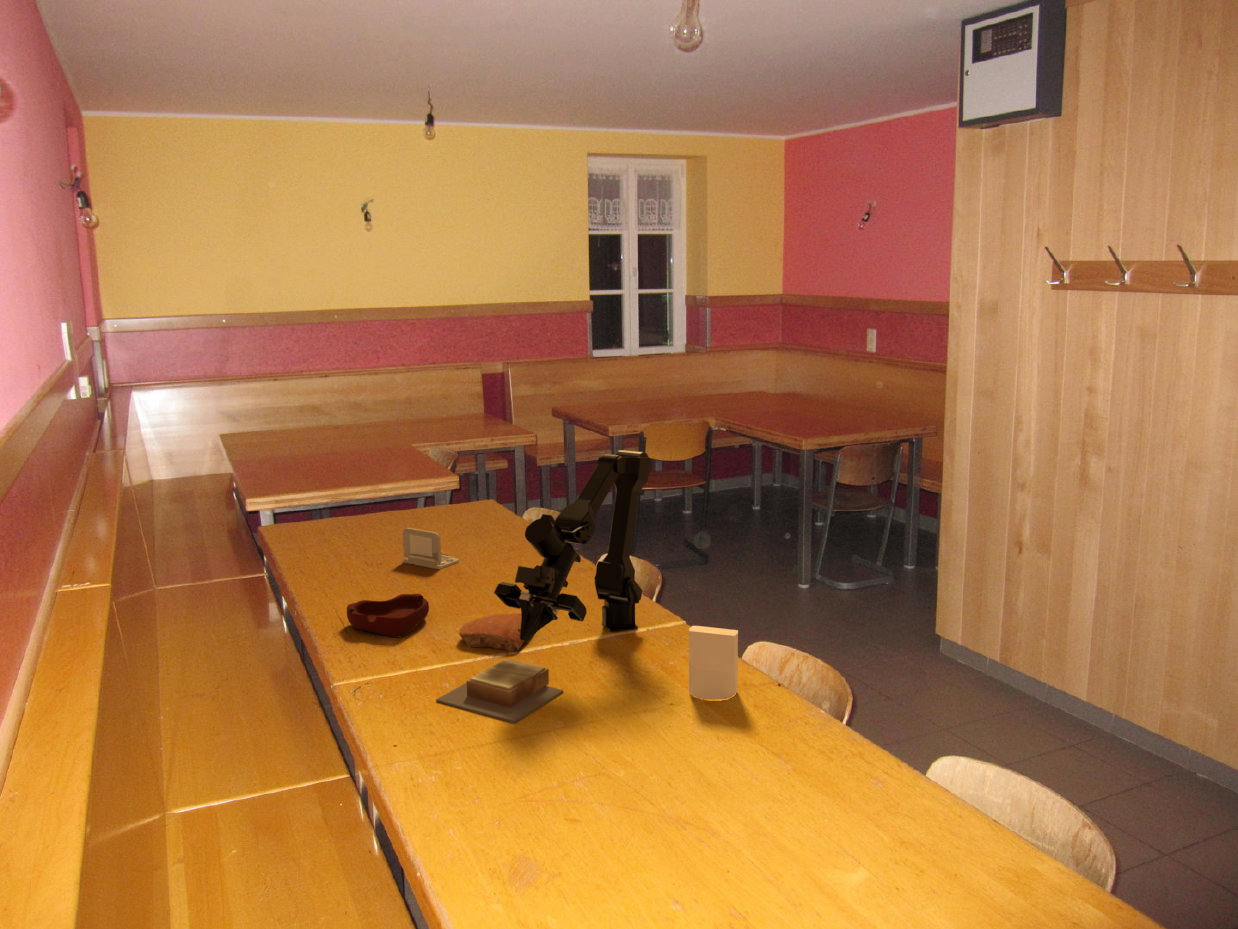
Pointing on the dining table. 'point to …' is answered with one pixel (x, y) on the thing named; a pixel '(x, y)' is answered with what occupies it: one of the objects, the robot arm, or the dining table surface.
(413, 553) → the handheld gaming console
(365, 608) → the ashtray
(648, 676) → the dining table surface
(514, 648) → the ceramic shard
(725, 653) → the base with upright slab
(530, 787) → the dining table surface
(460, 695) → the charcoal rubber mat
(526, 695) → the brown wooden block
